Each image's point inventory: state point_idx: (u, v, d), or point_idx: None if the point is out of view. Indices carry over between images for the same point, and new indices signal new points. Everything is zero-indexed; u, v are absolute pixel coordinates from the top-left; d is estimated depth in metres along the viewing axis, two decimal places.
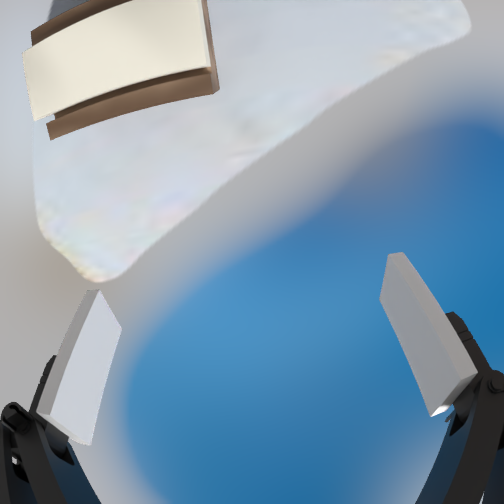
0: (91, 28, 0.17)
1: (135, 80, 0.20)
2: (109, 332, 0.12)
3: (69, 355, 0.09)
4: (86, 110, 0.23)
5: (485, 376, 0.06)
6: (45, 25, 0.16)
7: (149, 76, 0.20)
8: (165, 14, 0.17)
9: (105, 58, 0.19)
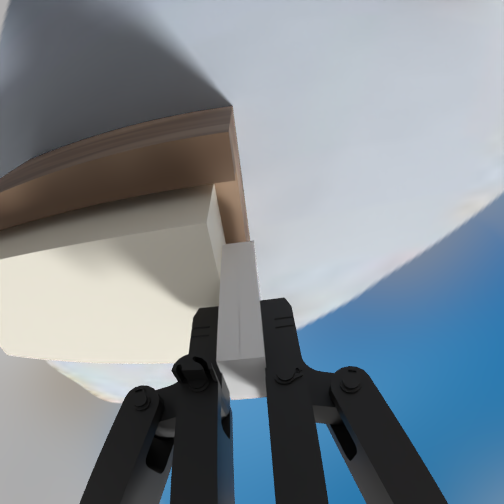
0: (28, 278, 0.11)
1: (131, 362, 0.15)
2: None
3: (237, 299, 0.11)
4: None
5: (268, 371, 0.08)
6: None
7: (151, 362, 0.15)
8: (154, 284, 0.12)
9: (72, 329, 0.13)
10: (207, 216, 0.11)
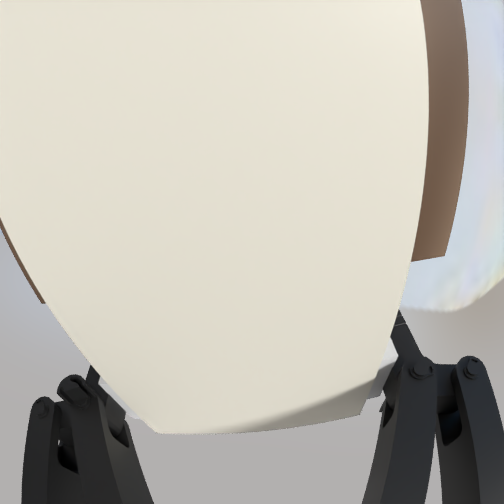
0: (67, 261, 0.05)
1: (417, 24, 0.03)
2: None
3: None
4: None
5: (405, 364, 0.07)
6: None
7: None
8: None
9: (242, 180, 0.04)
10: None
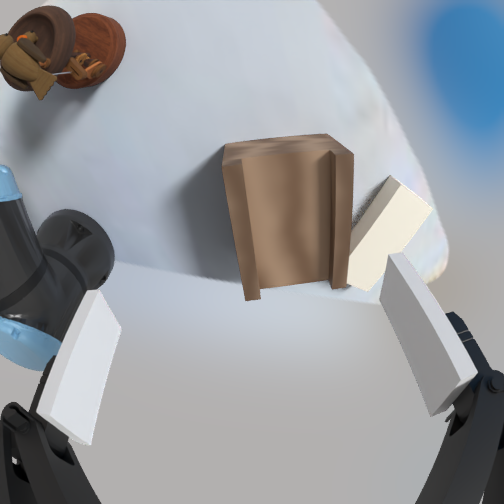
0: (370, 239, 0.42)
1: (410, 238, 0.42)
2: (109, 332, 0.12)
3: (69, 355, 0.09)
4: (337, 256, 0.35)
5: (485, 376, 0.06)
6: (246, 288, 0.37)
7: (415, 232, 0.41)
8: (401, 206, 0.39)
9: (389, 243, 0.42)
10: (399, 182, 0.37)
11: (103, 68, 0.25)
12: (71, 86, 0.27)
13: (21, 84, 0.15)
